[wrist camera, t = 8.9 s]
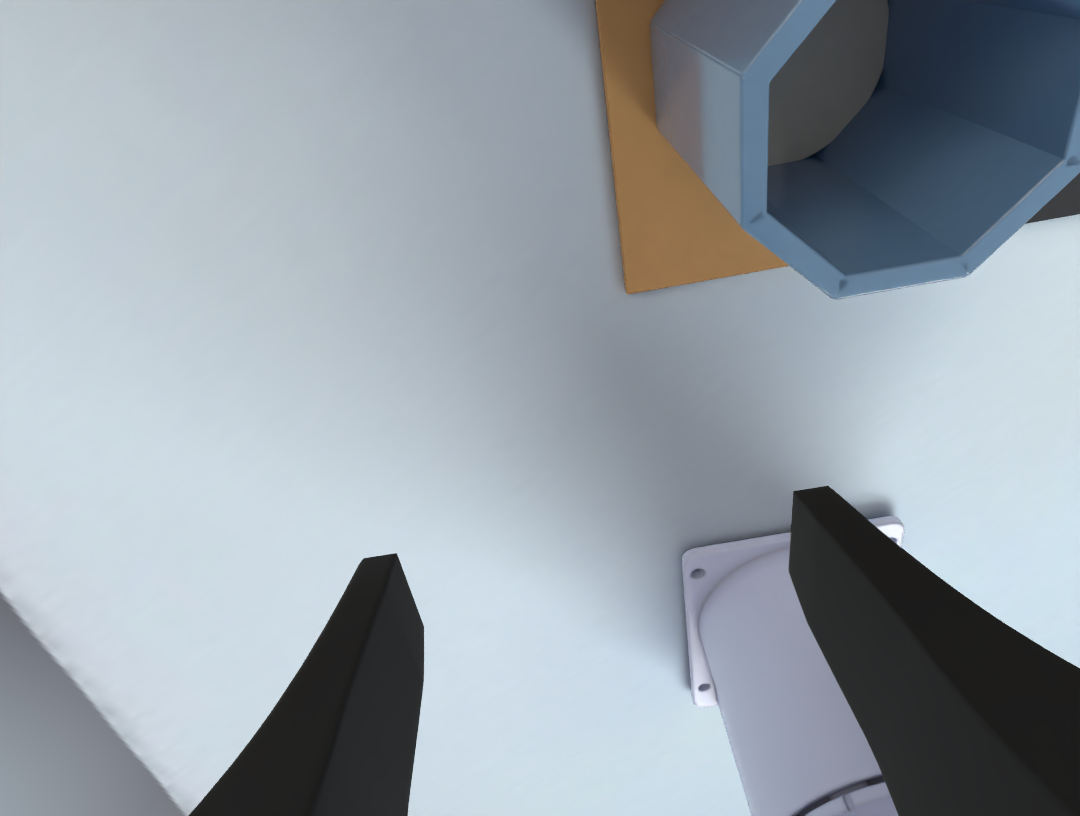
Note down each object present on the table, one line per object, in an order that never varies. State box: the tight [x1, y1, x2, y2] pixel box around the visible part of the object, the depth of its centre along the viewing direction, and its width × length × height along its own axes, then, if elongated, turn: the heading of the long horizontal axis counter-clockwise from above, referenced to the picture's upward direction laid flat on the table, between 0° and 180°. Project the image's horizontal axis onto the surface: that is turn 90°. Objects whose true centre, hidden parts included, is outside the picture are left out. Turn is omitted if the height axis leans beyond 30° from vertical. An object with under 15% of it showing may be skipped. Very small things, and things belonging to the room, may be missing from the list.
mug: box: [650, 0, 1080, 299], centre depth 13 cm, size 8×6×7 cm
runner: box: [595, 0, 1080, 294], centre depth 17 cm, size 11×20×1 cm, turn 99°
